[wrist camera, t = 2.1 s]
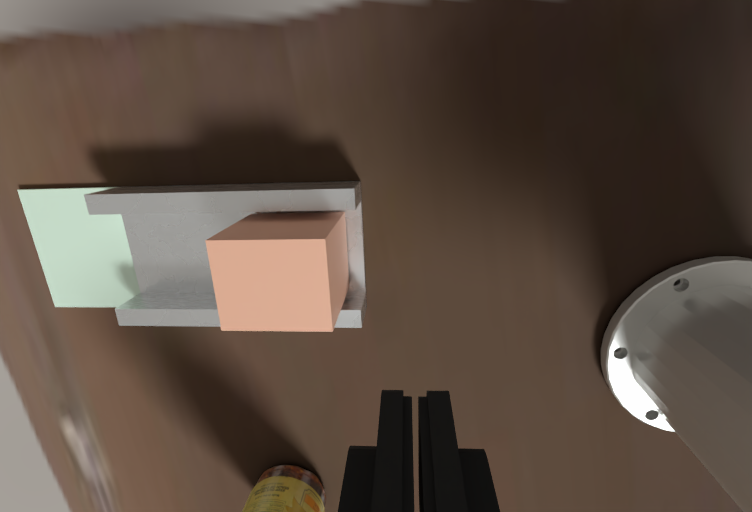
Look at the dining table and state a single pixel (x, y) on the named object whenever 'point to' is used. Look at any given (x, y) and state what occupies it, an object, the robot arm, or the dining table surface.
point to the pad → (80, 248)
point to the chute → (200, 222)
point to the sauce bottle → (286, 491)
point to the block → (280, 271)
